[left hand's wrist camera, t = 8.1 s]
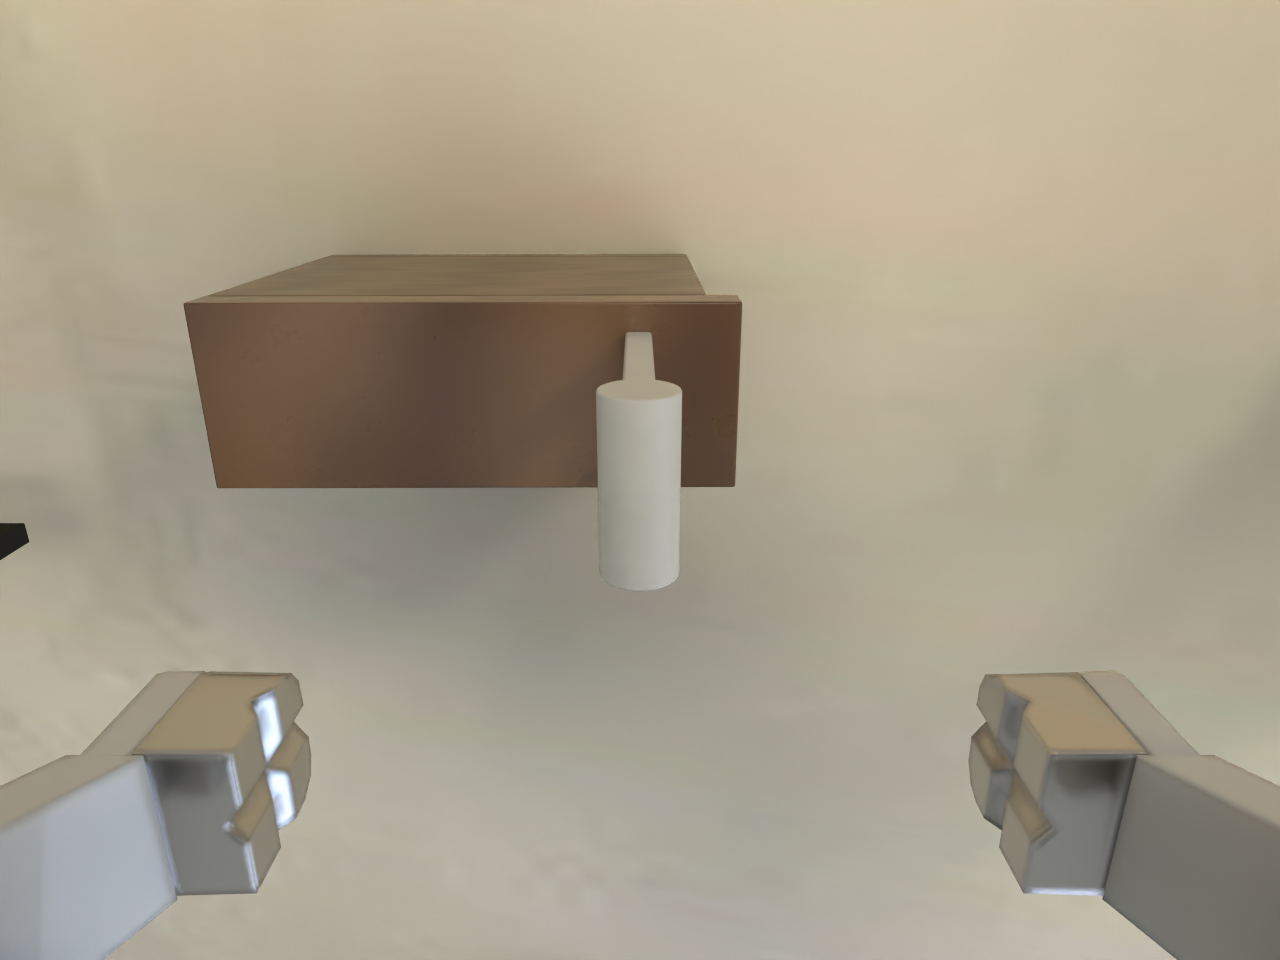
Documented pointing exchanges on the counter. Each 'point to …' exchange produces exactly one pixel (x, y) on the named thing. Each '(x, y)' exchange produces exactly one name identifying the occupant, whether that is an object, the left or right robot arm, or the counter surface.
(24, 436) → the counter surface
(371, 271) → the chest
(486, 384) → the door
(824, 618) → the counter surface
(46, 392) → the counter surface
